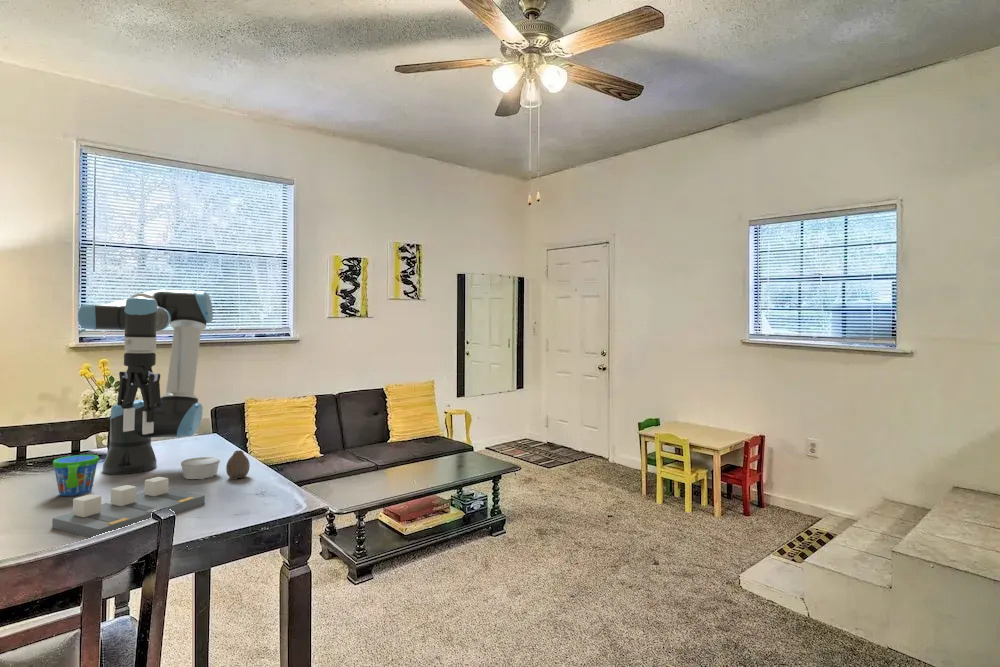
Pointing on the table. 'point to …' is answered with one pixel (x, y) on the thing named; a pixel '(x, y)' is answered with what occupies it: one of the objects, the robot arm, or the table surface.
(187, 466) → the ramekin
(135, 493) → the knob mid
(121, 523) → the switch panel
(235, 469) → the vase
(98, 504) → the knob near
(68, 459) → the snack cup
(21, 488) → the table surface
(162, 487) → the knob far
